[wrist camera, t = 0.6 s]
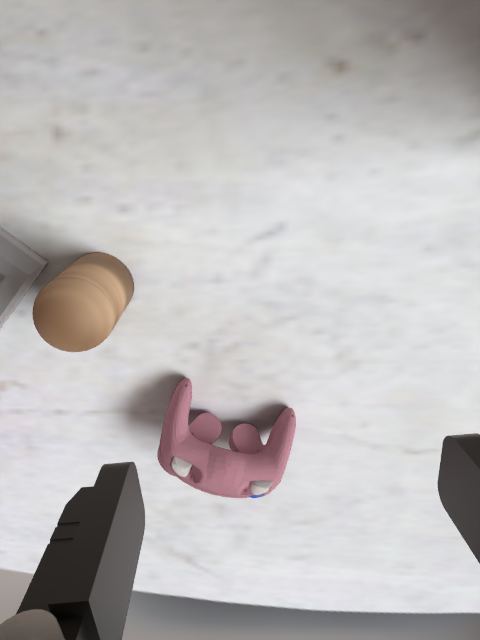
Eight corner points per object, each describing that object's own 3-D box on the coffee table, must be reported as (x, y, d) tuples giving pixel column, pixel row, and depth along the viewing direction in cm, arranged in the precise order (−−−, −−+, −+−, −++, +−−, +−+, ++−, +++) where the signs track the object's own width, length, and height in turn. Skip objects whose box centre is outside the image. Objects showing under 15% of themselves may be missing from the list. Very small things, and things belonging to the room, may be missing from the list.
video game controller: (168, 397, 34) (144, 483, 29) (179, 370, 30) (153, 463, 26) (280, 428, 35) (273, 514, 31) (302, 406, 32) (298, 499, 27)
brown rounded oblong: (91, 238, 27) (45, 273, 20) (146, 281, 28) (120, 326, 21) (55, 286, 28) (2, 333, 22) (110, 325, 29) (74, 380, 23)
